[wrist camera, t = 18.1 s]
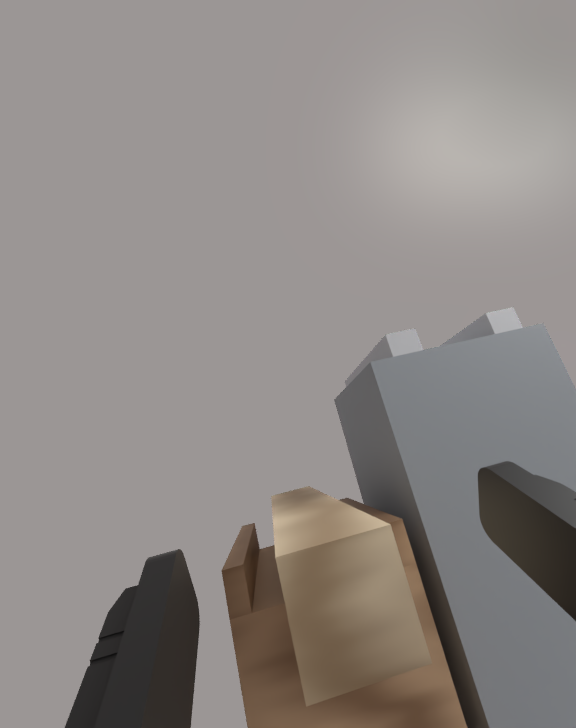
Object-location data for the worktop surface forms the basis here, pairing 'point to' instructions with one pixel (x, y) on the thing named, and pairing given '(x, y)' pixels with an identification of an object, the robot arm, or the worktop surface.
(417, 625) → the bar
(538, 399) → the slot column
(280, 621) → the block
